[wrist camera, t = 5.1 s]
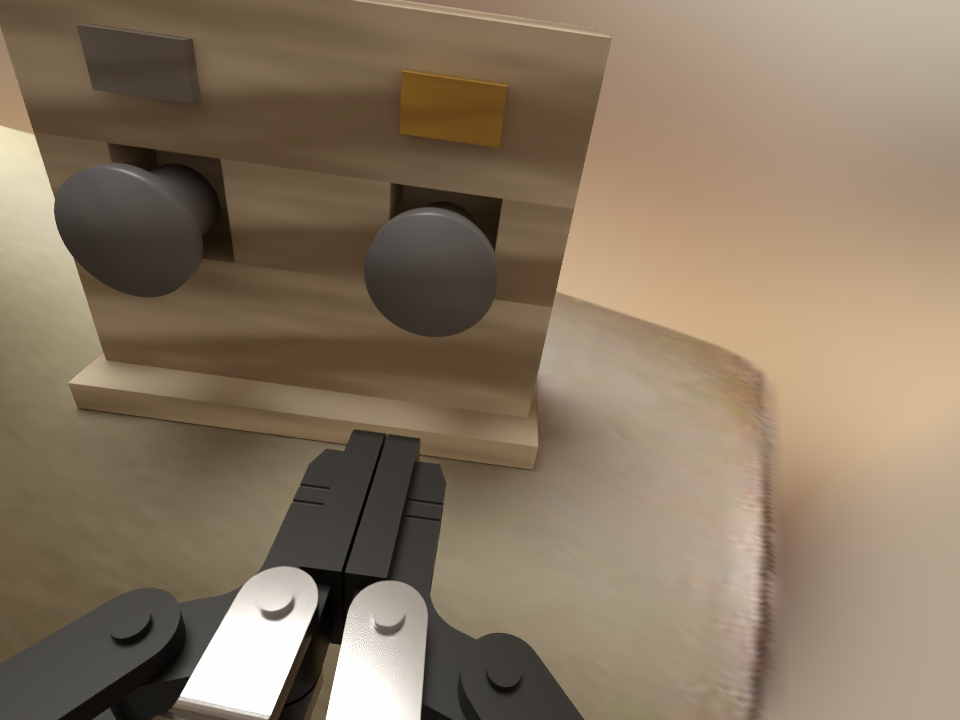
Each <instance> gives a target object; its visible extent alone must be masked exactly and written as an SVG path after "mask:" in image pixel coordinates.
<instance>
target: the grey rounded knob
mask: <svg viewBox="0 0 960 720" xmlns="http://www.w3.org/2000/svg"><path fill="white" fill-rule="evenodd" d="M497 278H498V265H497V260H496V255H495V253H494V250H493V247H492V246H491V244H490V242H489V240H488V239H487V237H486V236H485V234H484V233H483V232H482V231H481V230H480V229H479V228H478V226H477V223H476V221H475V219H474V218H473V217H472V215H471V214H470V213H469V212H468V211H467V210H465V209H464V208H463V207H461V206H459V205H457V204H454V203H451V202H434V203H431V204H428V205H426V206H424V207H423V208H416V209H411V210H408V211H405V212H403V213H401V214H399V215H397V216H395V217H394V218H392V219H391V220H389V221H388V222H387V223H386V224H385V225H384V226H383V227H382V228H381V230H380V231H379V232H378V234H377V235H376V237H375V239H374V240H373V242H372V244H371V246H370V247H369V250H368V252H367V255H366V259H365V263H364V279H365V284H366V288H367V291H368V294H369V296H370V298H371V300H372V302H373V303H374V305H375V306H376V308H377V309H378V310H379V311H380V312H381V314H382V315H383V316H384V317H385V318H387V319H388V320H389V321H390V322H392V323H393V324H394V325H396V326H398V327H399V328H401V329H403V330H405V331H408V332H410V333H413V334H416V335H420V336H425V337H446V336H451V335H455V334H458V333H461V332H463V331H466V330H467V329H469V328H471V327H473V326H474V325H475V324H477V323H478V322H479V321H480V320H481V319H482V318H483V317H484V316H485V314H486V313H487V312H488V310H489V309H490V307H491V305H492V303H493V300H494V298H495V294H496V289H497Z"/></svg>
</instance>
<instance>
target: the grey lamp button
mask: <svg viewBox="0 0 960 720" xmlns="http://www.w3.org/2000/svg"><path fill="white" fill-rule="evenodd" d="M54 214H55V221H56V225H57V228H58V231H59V234H60V236H61V238H62V240H63V242H64V244H65V246H66V247H67V249H68V250H69V252H70V253H71V255H72V256H73V257H74V258H75V260H76V261H77V262H78V263H79V264H80V265H81V266H82V267H83V268H84V269H85V270H86V271H87V272H88V273H90V274H91V275H92V276H93V277H95V278H96V279H97V280H99V281H101V282H102V283H104V284H105V285H107V286H109V287H111V288H113V289H115V290H117V291H120V292H122V293H125V294H129V295H132V296H138V297H147V298H150V297H160V296H164V295H167V294H170V293H172V292H174V291H176V290H177V289H178V288H180V287H181V286H182V285H183V284H184V283H185V282H187V281H188V280H189V279H190V278H191V277H192V276H193V275H194V274H195V273H196V271H197V270H198V268H199V266H200V263H201V261H202V256H203V239H202V236H203V235H205V234H206V233H207V232H209V231H210V230H211V229H212V228H214V226H215V225H216V224H217V222H218V220H219V217H220V202H219V199H218V196H217V194H216V191H215V190H214V188H213V186H212V185H211V184H210V182H209V181H208V180H207V179H206V178H205V177H204V176H203V175H201V174H200V173H199V172H197V171H196V170H194V169H192V168H190V167H188V166H185V165H182V164H175V163H170V164H164V165H162V166H160V167H158V168H155V169H153V170H151V171H149V172H148V171H146V170H143V169H141V168H138V167H135V166H132V165H128V164H123V163H102V164H98V165H95V166H93V167H90V168H88V169H85V170H83V171H80V172H78V173H76V174H74V175H72V176H71V177H69V178H68V179H67V180H66V181H65V182H64V183H63V184H62V185H61V187H60V188H59V190H58V193H57V195H56V199H55V204H54Z"/></svg>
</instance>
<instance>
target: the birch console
mask: <svg viewBox="0 0 960 720" xmlns="http://www.w3.org/2000/svg"><path fill="white" fill-rule="evenodd" d="M0 27H1V30H2V33H3V36H4V39H5V42H6V45H7V49H8V52H9V55H10V58H11V62H12V64H13V68H14V71H15V74H16V77H17V80H18V84H19V87H20V90H21V93H22V96H23V99H24V103H25V106H26V109H27V112H28V115H29V118H30V122H31V125H32V128H33V131H34V134H35V137H36V140H37V144H38V147H39V150H40V153H41V156H42V159H43V163H44V166H45V169H46V172H47V175H48V178H49V182H50V185H51V188H52V191H53V194H54V197H55V199H56V195H57V193H58V190H59V188H60V187H61V185H62V184H63V183H64V182H65V181H66V180H67V179H68V178H69V177H71V176H72V175H74V174H76V173H78V172H80V171H83V170H85V169H88V168H90V167H93V166H95V165H98V164H102V163H123V164H128V165H132V166H135V167H138V168H141V169H143V170H146V171H148V172H149V171H151V170H153V169H155V168H158V167H160V166H162V165H164V164H170V163H175V164H182V165H185V166H188V167H190V168H192V169H194V170H196V171H197V172H199V173H200V174H201V175H203V176H204V177H205V178H206V179H207V180H208V181H209V182H210V184H211V185H212V186H213V188H214V190H215V191H216V194H217V196H218V199H219V202H220V217H219V220H218V222H217V224H216V225H215V226H214V228H212V229H211V230H210V231H209V232H207V233H206V234H205V235H203V236H202V239H203V256H202V261H201V263H200V266H199V268H198V270H197V271H196V273H195V274H194V275H193V276H192V277H191V278H190V279H189V280H188V281H187V282H185V283H184V284H183V285H182V286H181V287H180V288H178V289H177V290H176V291H174V292H172V293H170V294H167V295H164V296H160V297H150V298H147V297H138V296H132V295H129V294H125V293H122V292H120V291H117V290H115V289H113V288H111V287H109V286H107V285H105V284H104V283H102V282H101V281H99V280H97V279H96V278H95V277H93V276H92V275H91V274H90V273H88V272H87V271H86V270H85V269H84V268H83V267H82V266H81V265H80V264H79V263H78V262H77V261H76V260H75V258H74V261H75V264H76V267H77V270H78V273H79V276H80V280H81V283H82V286H83V289H84V292H85V295H86V298H87V302H88V305H89V308H90V311H91V314H92V317H93V321H94V324H95V327H96V330H97V333H98V336H99V340H100V343H101V346H102V349H103V353H102V354H101V355H100V356H99V357H97V358H96V359H95V360H94V361H93V362H92V363H90V364H89V365H88V366H87V367H86V368H85V369H84V370H82V371H81V372H80V373H79V374H78V375H77V376H76V377H74V378H73V379H72V380H71V381H70V382H69V383H68V384H69V386H70V389H71V392H72V394H73V397H74V400H75V402H76V405H77V408H83V409H90V410H97V411H105V412H112V413H119V414H127V415H134V416H141V417H149V418H156V419H164V420H171V421H178V422H186V423H193V424H200V425H208V426H215V427H222V428H230V429H237V430H244V431H252V432H259V433H266V434H274V435H281V436H289V437H296V438H303V439H311V440H318V441H325V442H333V443H340V444H347V443H348V441H349V438H350V436H351V433H352V431H353V430H354V429H358V430H365V431H372V432H379V433H386V434H387V436H388V434H393V435H400V436H407V437H415V438H420V440H421V442H420V454H421V455H428V456H436V457H443V458H450V459H458V460H465V461H472V462H480V463H487V464H494V465H502V466H509V467H516V468H524V469H531V470H533V467H534V463H535V459H536V455H537V451H538V413H537V374H538V369H539V365H540V360H541V356H542V351H543V347H544V342H545V338H546V333H547V329H548V324H549V320H550V315H551V311H552V306H553V302H554V297H555V293H556V288H557V284H558V279H559V274H560V270H561V265H562V261H563V257H564V252H565V247H566V243H567V239H568V234H569V230H570V225H571V221H572V216H573V211H574V207H575V202H576V198H577V193H578V189H579V184H580V180H581V175H582V171H583V166H584V162H585V157H586V153H587V148H588V144H589V139H590V135H591V130H592V126H593V121H594V117H595V112H596V108H597V103H598V98H599V94H600V90H601V85H602V80H603V76H604V72H605V67H606V63H607V58H608V53H609V49H610V44H611V40H612V38H611V37H609V36H607V35H606V34H604V33H602V32H601V31H599V30H597V29H595V28H588V27H581V26H574V25H567V24H560V23H554V22H546V21H540V20H533V19H527V18H520V17H513V16H506V15H499V14H492V13H485V12H478V11H472V10H464V9H458V8H451V7H444V6H437V5H430V4H424V3H417V2H410V1H403V0H0ZM434 202H451V203H454V204H457V205H459V206H461V207H463V208H464V209H465V210H467V211H468V212H469V213H470V214H471V215H472V217H473V218H474V219H475V221H476V223H477V226H478V228H479V229H480V230H481V231H482V232H483V233H484V234H485V236H486V237H487V239H488V240H489V242H490V244H491V246H492V247H493V250H494V253H495V255H496V260H497V265H498V278H497V289H496V294H495V298H494V300H493V303H492V305H491V307H490V309H489V310H488V312H487V313H486V314H485V316H484V317H483V318H482V319H481V320H480V321H479V322H478V323H477V324H475V325H474V326H473V327H471V328H469V329H467V330H466V331H463V332H461V333H458V334H455V335H451V336H446V337H425V336H420V335H416V334H413V333H410V332H408V331H405V330H403V329H401V328H399V327H398V326H396V325H394V324H393V323H392V322H390V321H389V320H388V319H387V318H385V317H384V316H383V315H382V314H381V312H380V311H379V310H378V309H377V308H376V306H375V305H374V303H373V302H372V300H371V298H370V296H369V294H368V291H367V288H366V284H365V279H364V263H365V259H366V255H367V252H368V250H369V247H370V246H371V244H372V242H373V240H374V239H375V237H376V235H377V234H378V232H379V231H380V230H381V228H382V227H383V226H384V225H385V224H386V223H387V222H388V221H389V220H391V219H392V218H394V217H395V216H397V215H399V214H401V213H403V212H405V211H408V210H411V209H416V208H423V207H424V206H426V205H428V204H431V203H434Z"/></svg>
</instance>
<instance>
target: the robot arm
mask: <svg viewBox="0 0 960 720" xmlns="http://www.w3.org/2000/svg"><path fill="white" fill-rule="evenodd" d="M420 442H421V440H420V438H415V437H407V436H400V435H393V434H388V436H387V434H386V433H379V432H372V431H365V430H358V429H354V430H353V431H352V433H351V436H350V438H349V441H348V443H347V446H346V448H345V451H338V450H330V449H326V450H325V451H323V452H322V453H321V454H320V455H319V456H318V457H317V458H316V459H315V460H313V461H312V462H311V463H310V464H309V466H308V468H307V470H306V473H305V475H304V477H303V479H302V481H301V485H300V487H299V488H298V490H297V492H296V495H295V497H294V499H293V503H291V506H290V508H289V510H288V512H287V514H286V516H285V519H284V521H283V523H282V525H281V527H280V530H279V532H278V534H277V536H276V538H275V541H274V543H273V545H272V547H271V549H270V552H269V554H268V556H267V558H266V560H265V562H264V564H263V566H262V567H261V569H260V570H259V571H258V573H257V574H256V575H255V576H254V577H252V578H251V579H250V580H249V581H247V582H246V584H244V585H243V586H241V587H239V588H238V589H236V590H234V591H232V592H229V593H226V594H224V595H220V596H216V597H210V598H205V599H199V600H193V601H187V602H181V603H177V601H176V599H175V598H174V597H173V596H172V595H171V594H170V593H168V592H166V591H164V590H161V589H156V588H143V589H137V590H133V591H129V592H127V593H124V594H122V595H120V596H118V597H116V598H114V599H112V600H110V601H109V602H107V603H105V604H103V605H102V606H100V607H98V608H97V609H95V610H93V611H91V612H90V613H88V614H86V615H84V616H83V617H81V618H79V619H77V620H76V621H74V622H72V623H70V624H69V625H67V626H65V627H64V628H62V629H60V630H58V631H57V632H55V633H53V634H51V635H50V636H48V637H46V638H44V639H43V640H41V641H39V642H37V643H36V644H34V645H32V646H31V647H29V648H27V649H25V650H24V651H22V652H20V653H18V654H17V655H15V656H13V657H11V658H10V659H8V660H6V661H4V662H3V663H1V664H0V720H310V717H311V715H312V712H313V709H314V707H315V704H316V701H317V698H318V696H319V693H320V690H321V687H322V684H323V663H324V659H325V656H326V653H327V649H328V646H329V643H332V644H340V645H341V649H340V654H339V659H338V663H337V668H336V673H335V678H334V683H333V688H332V693H331V698H330V703H329V708H328V713H327V718H326V720H584V719H583V717H582V716H581V715H580V713H579V712H578V710H577V709H576V708H575V706H574V705H573V703H572V702H571V701H570V699H569V698H568V697H567V695H566V694H565V692H564V691H563V690H562V688H561V687H560V686H559V684H558V683H557V681H556V680H555V679H554V677H553V676H552V675H551V673H550V672H549V670H548V669H547V668H546V666H545V665H544V663H543V662H542V661H541V659H540V658H539V657H538V655H537V654H536V652H535V651H534V650H533V649H532V648H531V647H530V646H529V645H528V644H527V643H526V642H525V641H523V640H521V639H520V638H518V637H516V636H513V635H510V634H506V633H492V634H488V635H485V636H483V637H481V638H479V639H477V640H476V639H474V638H472V637H470V636H468V635H466V634H464V633H462V632H460V631H458V630H456V629H454V628H453V627H451V626H450V625H448V624H447V623H446V622H445V621H444V620H443V619H442V618H441V617H440V616H439V615H438V613H437V612H436V610H435V608H434V606H433V604H432V601H431V597H430V591H431V585H432V579H433V572H434V565H435V559H436V553H437V546H438V540H439V534H440V527H441V519H442V511H443V503H444V496H445V488H446V482H445V479H444V476H443V473H442V470H441V467H440V465H439V464H431V463H424V462H419V455H420Z"/></svg>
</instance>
